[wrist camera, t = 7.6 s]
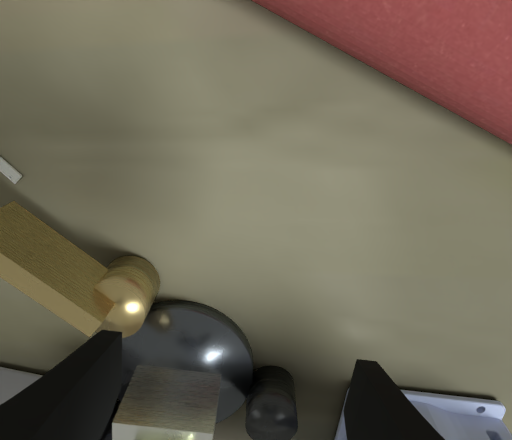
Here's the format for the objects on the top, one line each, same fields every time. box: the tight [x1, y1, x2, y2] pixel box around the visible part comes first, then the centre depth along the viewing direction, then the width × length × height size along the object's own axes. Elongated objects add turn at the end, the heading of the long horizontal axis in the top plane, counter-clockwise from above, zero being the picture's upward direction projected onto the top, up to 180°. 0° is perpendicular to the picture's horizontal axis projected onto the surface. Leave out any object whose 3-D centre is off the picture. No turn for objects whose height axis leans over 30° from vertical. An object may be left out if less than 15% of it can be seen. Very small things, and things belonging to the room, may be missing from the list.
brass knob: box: [0, 201, 160, 338], centre depth 19 cm, size 8×3×5 cm, turn 48°
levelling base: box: [0, 156, 298, 440], centre depth 20 cm, size 17×18×6 cm
